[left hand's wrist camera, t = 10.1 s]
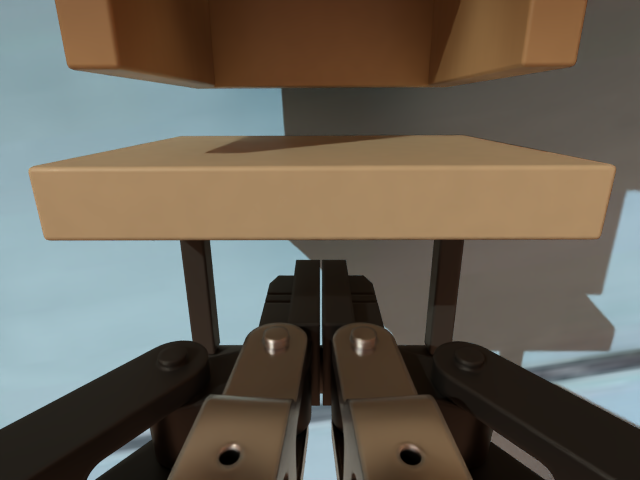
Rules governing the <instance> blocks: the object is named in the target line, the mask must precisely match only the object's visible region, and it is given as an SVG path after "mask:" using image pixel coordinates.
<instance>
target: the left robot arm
mask: <svg viewBox="0 0 640 480" xmlns="http://www.w3.org/2000/svg"><path fill="white" fill-rule="evenodd" d="M322 366H323V405H331V411H332V430H331V433H332V443H333V451H334V459H335V467H336V475H337V480H545V479H543V478H542V477H540V476H539V475H537V474H536V473H535V472H533V471H532V470H530V469H529V468H528V467H526V466H525V465H523V464H522V463H520V462H519V461H518V460H516V459H515V458H513V457H512V456H511V455H509V454H508V453H506V452H505V451H504V450H502V449H501V448H499V447H498V446H496V445H495V444H494V443H492V442H491V437H492V432H493V430H494V431H496V432H497V433H499V434H500V435H502V436H503V437H505V438H506V439H507V440H509V441H510V442H512V443H513V444H515V445H516V446H518V447H519V448H521V449H522V450H524V451H525V452H527V453H528V454H530V455H531V456H532V457H534V458H535V459H537V460H538V461H540V462H541V463H542V464H543V465H544V466H546V467H547V469H548V470H549V471H550V472H551V474H552V475H553V477H554V479H555V480H640V429H638V428H636V427H634V426H632V425H630V424H628V423H626V422H625V421H623V420H621V419H619V418H617V417H615V416H613V415H611V414H609V413H608V412H606V411H604V410H602V409H600V408H598V407H596V406H594V405H592V404H590V403H589V402H587V401H585V400H583V399H581V398H579V397H577V396H575V395H573V394H571V393H570V392H568V391H566V390H564V389H562V388H560V387H558V386H556V385H554V384H552V383H551V382H549V381H547V380H545V379H543V378H541V377H539V376H537V375H535V374H533V373H532V372H530V371H528V370H526V369H524V368H522V367H520V366H518V365H516V364H514V363H513V362H511V361H509V360H507V359H505V358H503V357H501V356H499V355H497V354H495V353H494V352H492V351H490V350H488V349H486V348H484V347H482V346H479V345H476V344H472V343H468V342H459V341H456V342H447V343H444V344H442V345H440V346H439V347H437V348H436V350H435V351H434V354H433V357H430V356H425V355H420V354H416V353H412V352H409V351H406V350H404V349H402V348H400V347H398V346H397V344H396V341H395V339H394V337H393V335H392V334H391V333H390V332H389V331H388V330H386V329H385V328H384V325H383V321H382V318H381V314H380V310H379V306H378V303H377V299H376V295H375V291H374V288H373V284H372V283H371V282H370V281H369V280H368V279H367V278H366V277H364V276H363V275H348V271H347V264H346V260H322ZM311 406H320V260H296V266H295V273H294V276H278V277H277V278H276V279H274V280H273V281H272V282H271V283H270V285H269V289H268V293H267V296H266V300H265V304H264V308H263V312H262V316H261V320H260V324H259V327H257V328H256V329H254V330H252V331H251V332H250V333H249V334H248V335H247V337H246V339H245V341H244V344H243V346H242V348H241V349H239V350H237V351H234V352H231V353H227V354H223V355H218V356H214V357H208V352H207V349H206V348H205V347H204V346H203V345H201V344H199V343H197V342H193V341H175V342H170V343H166V344H163V345H160V346H158V347H156V348H154V349H152V350H150V351H148V352H146V353H145V354H143V355H141V356H139V357H137V358H135V359H133V360H131V361H129V362H127V363H126V364H124V365H122V366H120V367H118V368H116V369H114V370H112V371H110V372H108V373H107V374H105V375H103V376H101V377H99V378H97V379H95V380H93V381H91V382H89V383H88V384H86V385H84V386H82V387H80V388H78V389H76V390H74V391H72V392H70V393H69V394H67V395H65V396H63V397H61V398H59V399H57V400H55V401H53V402H52V403H50V404H48V405H46V406H44V407H42V408H40V409H38V410H36V411H34V412H33V413H31V414H29V415H27V416H25V417H23V418H21V419H19V420H17V421H15V422H14V423H12V424H10V425H8V426H6V427H4V428H2V429H0V480H87V478H88V476H89V474H90V473H91V471H92V470H93V469H94V467H95V466H96V465H97V464H98V463H99V462H101V461H102V460H103V459H105V458H106V457H108V456H109V455H110V454H112V453H113V452H115V451H116V450H118V449H119V448H121V447H122V446H124V445H125V444H127V443H128V442H130V441H131V440H133V439H134V438H135V437H137V436H138V435H140V434H141V433H143V432H144V431H146V430H147V429H149V428H150V431H151V436H152V440H151V441H149V442H148V443H146V444H145V445H144V446H142V447H141V448H139V449H138V450H137V451H135V452H134V453H132V454H131V455H129V456H128V457H127V458H125V459H124V460H122V461H121V462H120V463H118V464H117V465H115V466H114V467H112V468H111V469H110V470H108V471H107V472H105V473H104V474H103V475H101V476H100V477H98V478H97V479H95V480H303V476H304V467H305V459H306V451H307V443H308V434H309V428H308V425H309V423H310V420H311Z"/></svg>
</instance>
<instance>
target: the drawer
mask: <svg viewBox="0 0 640 480" xmlns="http://www.w3.org/2000/svg"><path fill="white" fill-rule="evenodd" d="M587 1H588V0H55V4H56V9H57V14H58V20H59V25H60V30H61V35H62V40H63V46H64V51H65V56H66V61H67V65H68V67H69V68H70V69H73V70H77V71H84V72H91V73H97V74H104V75H111V76H117V77H124V78H131V79H137V80H144V81H151V82H157V83H164V84H171V85H177V86H184V87H190V88H196V89H222V88H420V87H452V86H458V85H464V84H470V83H476V82H482V81H488V80H495V79H501V78H507V77H513V76H519V75H525V74H531V73H538V72H544V71H550V70H556V69H562V68H568V67H572V66H574V65H575V63H576V60H577V55H578V50H579V44H580V39H581V33H582V28H583V23H584V17H585V12H586V7H587ZM615 173H616V167H615V166H614V165H611V164H607V163H602V162H597V161H592V160H587V159H582V158H577V157H572V156H567V155H562V154H557V153H552V152H547V151H541V150H536V149H531V148H526V147H521V146H516V145H511V144H506V143H501V142H496V141H491V140H486V139H481V138H476V137H470V136H465V135H359V136H180V137H175V138H170V139H165V140H160V141H155V142H150V143H145V144H140V145H135V146H131V147H126V148H121V149H116V150H111V151H106V152H101V153H96V154H91V155H86V156H81V157H76V158H71V159H67V160H62V161H57V162H52V163H47V164H42V165H37V166H33V167H31V168H30V169H29V176H30V180H31V185H32V189H33V193H34V197H35V201H36V205H37V210H38V214H39V218H40V222H41V226H42V230H43V235H44V237H45V239H46V240H180V244H181V252H182V260H183V268H184V276H185V284H186V292H187V300H188V308H189V316H190V324H191V332H192V340H193V342H197V343H199V344H201V345H203V346H204V347H205V348H206V349H207V352H208V357H214V356H218V355H223V354H227V353H231V352H234V351H237V350H239V349H241V348H242V346H243V345H219V343H220V338H219V328H218V318H217V308H216V298H215V288H214V277H213V267H212V257H211V247H210V240H434V247H433V258H432V269H431V279H430V290H429V301H428V312H427V323H426V333H425V344H426V345H397V346H398V347H400V348H402V349H404V350H406V351H409V352H412V353H416V354H420V355H425V356H430V357H433V354H434V351H435V350H436V348H437V347H439V346H440V345H442V344H444V343H447V342H452V338H453V329H454V321H455V312H456V304H457V296H458V287H459V279H460V270H461V262H462V253H463V245H464V240H552V239H598V238H600V236H601V233H602V229H603V224H604V220H605V216H606V211H607V207H608V203H609V199H610V194H611V190H612V186H613V182H614V177H615ZM320 393H323V366H322V345H320Z"/></svg>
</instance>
